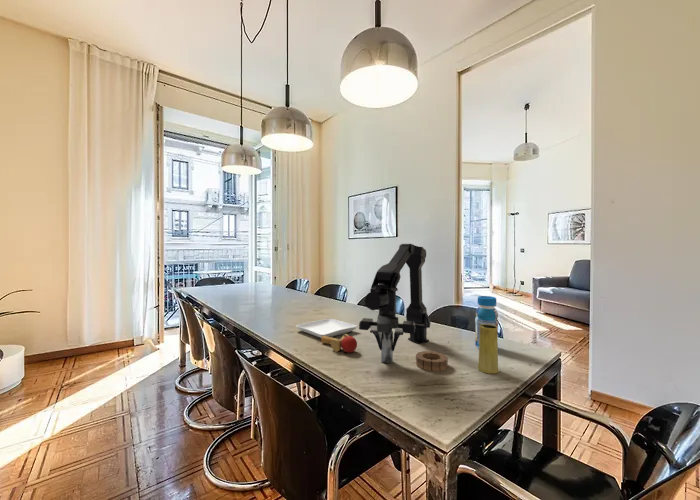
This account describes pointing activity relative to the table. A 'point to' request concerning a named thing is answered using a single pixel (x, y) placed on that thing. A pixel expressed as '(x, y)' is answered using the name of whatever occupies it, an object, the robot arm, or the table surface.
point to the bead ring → (431, 361)
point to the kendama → (341, 343)
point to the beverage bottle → (485, 314)
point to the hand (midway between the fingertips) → (386, 350)
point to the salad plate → (326, 327)
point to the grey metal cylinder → (387, 347)
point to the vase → (488, 349)
